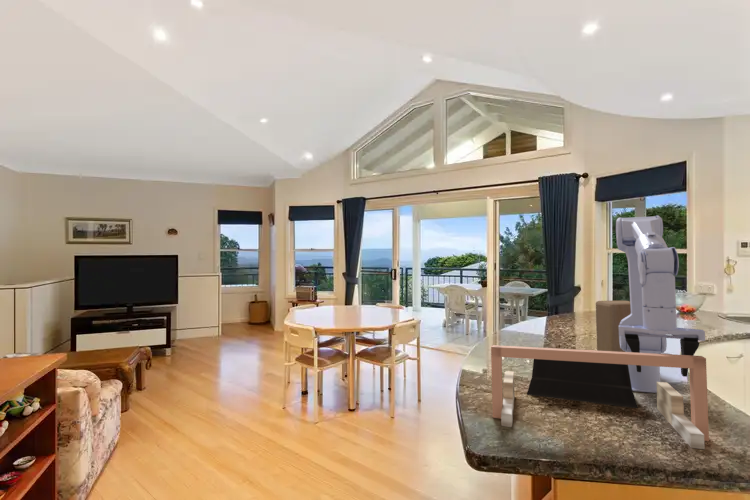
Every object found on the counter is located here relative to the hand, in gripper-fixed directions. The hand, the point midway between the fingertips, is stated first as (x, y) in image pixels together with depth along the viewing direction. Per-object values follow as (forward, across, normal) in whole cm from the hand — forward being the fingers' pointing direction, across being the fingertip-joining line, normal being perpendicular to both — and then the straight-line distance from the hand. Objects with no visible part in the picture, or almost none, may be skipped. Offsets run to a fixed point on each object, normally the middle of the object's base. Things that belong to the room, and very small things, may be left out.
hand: (661, 373), depth 85 cm
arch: (+10, -13, -9) cm, 18 cm away
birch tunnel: (+10, -13, -4) cm, 17 cm away
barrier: (+10, -16, +11) cm, 22 cm away
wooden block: (+10, -6, +46) cm, 47 cm away
